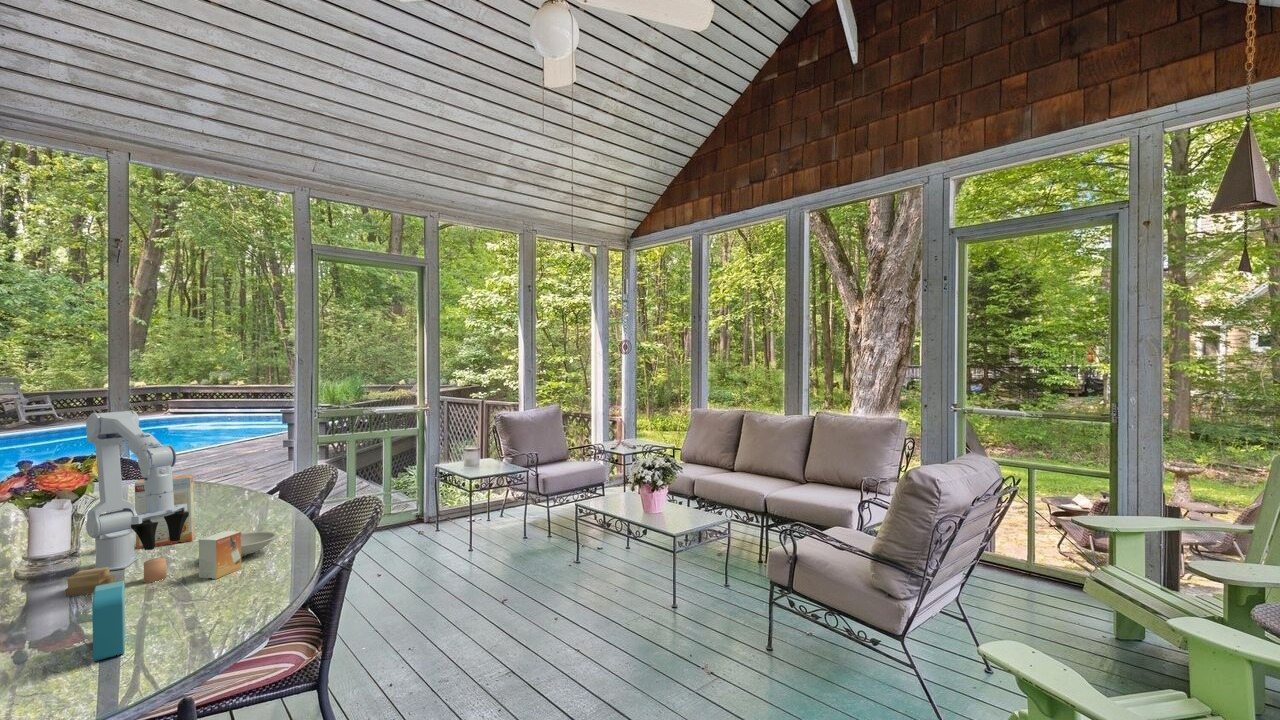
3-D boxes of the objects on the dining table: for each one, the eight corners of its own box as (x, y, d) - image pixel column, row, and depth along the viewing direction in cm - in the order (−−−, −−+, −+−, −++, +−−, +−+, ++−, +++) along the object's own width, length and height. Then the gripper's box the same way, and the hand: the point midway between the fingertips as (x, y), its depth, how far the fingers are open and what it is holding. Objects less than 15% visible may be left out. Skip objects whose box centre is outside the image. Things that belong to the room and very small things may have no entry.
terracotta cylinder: (148, 578, 155) (147, 559, 155) (169, 575, 156) (168, 557, 156) (140, 584, 150) (140, 565, 150) (162, 581, 152) (162, 562, 152)
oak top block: (80, 580, 149) (79, 570, 149) (109, 576, 151) (109, 566, 151) (67, 588, 144) (67, 578, 144) (98, 584, 146) (98, 574, 146)
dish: (278, 544, 182) (278, 528, 182) (276, 557, 169) (276, 540, 169) (209, 554, 173) (208, 538, 173) (202, 569, 160) (201, 551, 160)
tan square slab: (80, 588, 150) (80, 579, 149) (114, 583, 152) (114, 574, 152) (65, 598, 143) (65, 589, 143) (101, 594, 146) (101, 584, 146)
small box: (215, 579, 153) (215, 540, 153) (198, 578, 154) (197, 539, 154) (242, 568, 161) (241, 531, 161) (225, 567, 162) (224, 530, 162)
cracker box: (195, 536, 190) (193, 473, 190) (192, 541, 185) (191, 476, 185) (139, 544, 183) (138, 478, 183) (135, 549, 178) (134, 482, 178)
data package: (96, 641, 120) (95, 584, 120) (125, 634, 123) (124, 578, 123) (93, 664, 111) (92, 602, 111) (124, 656, 114) (123, 595, 114)
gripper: (148, 497, 144) (152, 552, 144) (196, 486, 158) (199, 536, 158) (122, 499, 144) (125, 554, 144) (172, 488, 159) (175, 538, 158)
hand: (162, 545), depth 151 cm, fingers open, 7 cm apart
